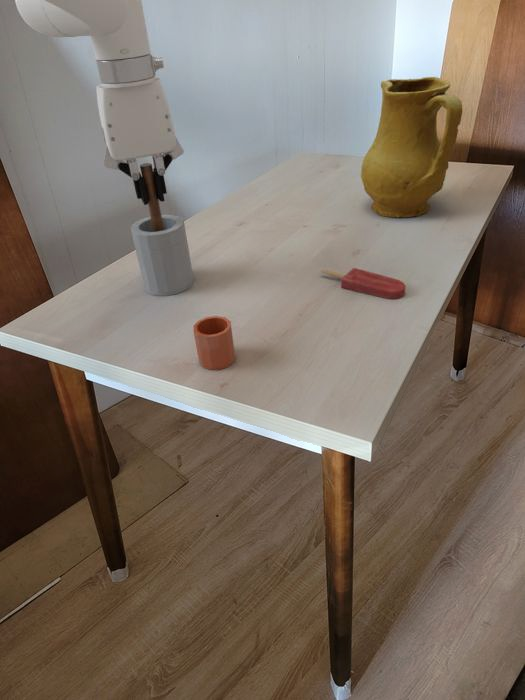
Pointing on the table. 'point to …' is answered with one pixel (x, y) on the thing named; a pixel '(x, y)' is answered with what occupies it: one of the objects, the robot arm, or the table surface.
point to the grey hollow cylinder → (163, 256)
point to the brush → (152, 197)
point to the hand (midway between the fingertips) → (152, 199)
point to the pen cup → (214, 342)
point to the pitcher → (410, 146)
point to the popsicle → (370, 283)
